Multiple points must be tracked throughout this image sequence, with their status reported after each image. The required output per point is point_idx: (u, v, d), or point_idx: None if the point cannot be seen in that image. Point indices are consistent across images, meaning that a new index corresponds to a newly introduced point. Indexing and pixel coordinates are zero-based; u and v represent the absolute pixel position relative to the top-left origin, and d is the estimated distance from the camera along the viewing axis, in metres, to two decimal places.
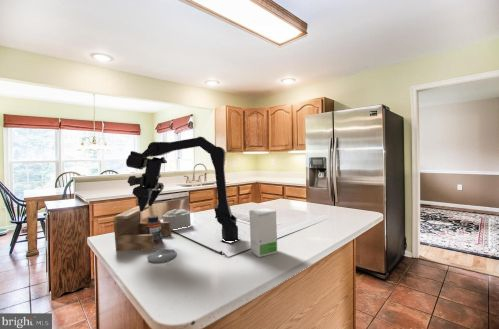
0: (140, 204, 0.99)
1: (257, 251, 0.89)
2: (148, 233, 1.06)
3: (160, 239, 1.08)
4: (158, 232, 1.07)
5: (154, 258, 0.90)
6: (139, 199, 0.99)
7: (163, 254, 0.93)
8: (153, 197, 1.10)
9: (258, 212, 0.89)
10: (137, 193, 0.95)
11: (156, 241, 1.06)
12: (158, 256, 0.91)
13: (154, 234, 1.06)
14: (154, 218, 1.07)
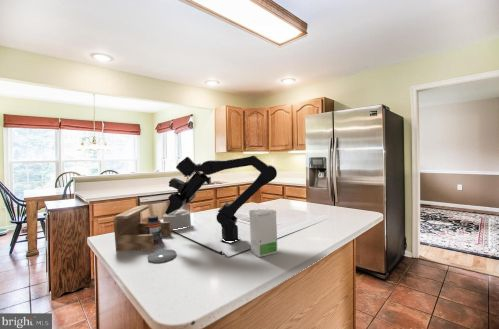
0: (168, 208, 1.02)
1: (257, 251, 0.89)
2: (148, 233, 1.06)
3: (160, 239, 1.08)
4: (158, 232, 1.07)
5: (154, 258, 0.90)
6: (170, 204, 1.01)
7: (163, 254, 0.93)
8: None
9: (258, 212, 0.89)
10: (172, 200, 0.98)
11: (156, 241, 1.06)
12: (158, 256, 0.91)
13: (154, 234, 1.06)
14: (154, 218, 1.07)
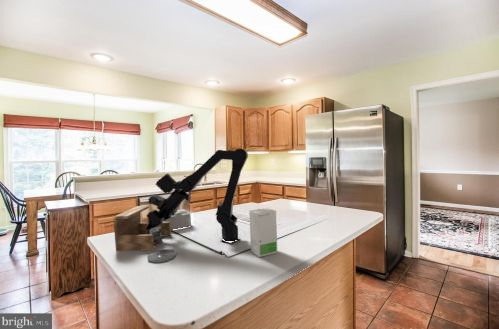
0: (149, 224, 1.04)
1: (257, 251, 0.89)
2: (148, 233, 1.06)
3: (160, 239, 1.08)
4: (158, 232, 1.07)
5: (154, 258, 0.90)
6: (151, 220, 1.04)
7: (163, 254, 0.93)
8: None
9: (258, 212, 0.89)
10: (150, 218, 0.99)
11: (156, 241, 1.06)
12: (158, 256, 0.91)
13: (154, 234, 1.06)
14: None
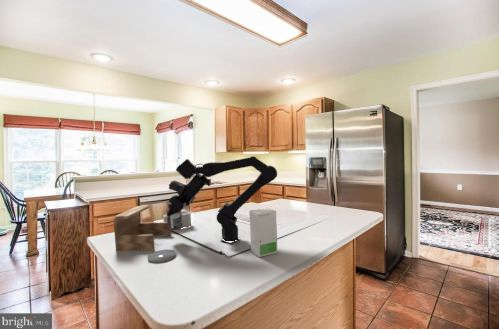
0: (170, 210, 1.03)
1: (257, 251, 0.89)
2: (169, 219, 1.05)
3: (181, 226, 1.07)
4: (178, 218, 1.05)
5: (154, 258, 0.90)
6: (172, 206, 1.02)
7: (163, 254, 0.93)
8: None
9: (258, 212, 0.89)
10: (173, 203, 0.97)
11: (177, 227, 1.05)
12: (158, 256, 0.91)
13: (175, 220, 1.04)
14: None
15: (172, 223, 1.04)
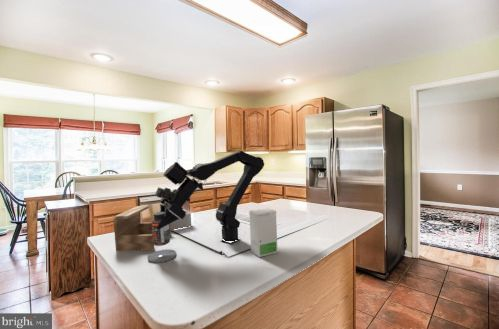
0: (163, 221, 0.89)
1: (257, 251, 0.89)
2: (158, 233, 0.89)
3: (169, 238, 0.93)
4: (168, 230, 0.92)
5: (154, 258, 0.90)
6: (166, 216, 0.89)
7: (163, 254, 0.93)
8: None
9: (258, 212, 0.89)
10: (175, 212, 0.85)
11: (167, 241, 0.91)
12: (158, 256, 0.91)
13: (166, 233, 0.91)
14: (164, 214, 0.91)
15: (163, 237, 0.90)
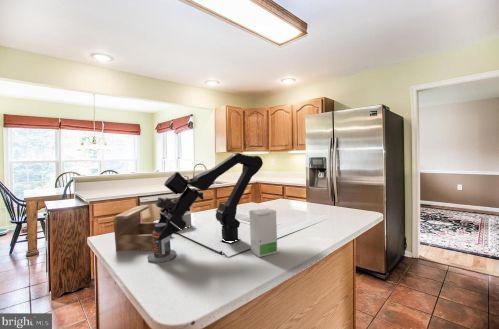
0: (164, 233, 0.87)
1: (257, 251, 0.89)
2: (159, 245, 0.90)
3: (170, 250, 0.94)
4: (169, 241, 0.92)
5: (154, 258, 0.90)
6: (167, 227, 0.87)
7: None
8: None
9: (258, 212, 0.89)
10: (175, 222, 0.86)
11: (168, 252, 0.92)
12: None
13: (166, 244, 0.91)
14: None
15: (164, 248, 0.90)
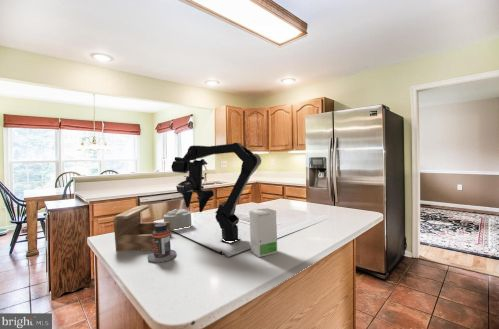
0: (201, 206, 1.06)
1: (257, 251, 0.89)
2: (159, 245, 0.90)
3: (170, 250, 0.94)
4: (169, 241, 0.92)
5: (154, 258, 0.90)
6: (201, 201, 1.05)
7: None
8: (189, 198, 1.14)
9: (258, 212, 0.89)
10: (207, 196, 1.03)
11: (168, 252, 0.92)
12: None
13: (166, 244, 0.91)
14: (165, 226, 0.91)
15: (164, 248, 0.90)
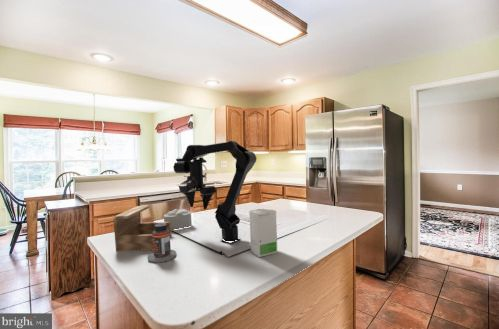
0: (205, 203, 1.08)
1: (257, 251, 0.89)
2: (159, 245, 0.90)
3: (170, 250, 0.94)
4: (169, 241, 0.92)
5: (154, 258, 0.90)
6: (205, 198, 1.07)
7: None
8: (192, 198, 1.16)
9: (258, 212, 0.89)
10: (209, 192, 1.05)
11: (168, 252, 0.92)
12: None
13: (166, 244, 0.91)
14: (165, 226, 0.91)
15: (164, 248, 0.90)
